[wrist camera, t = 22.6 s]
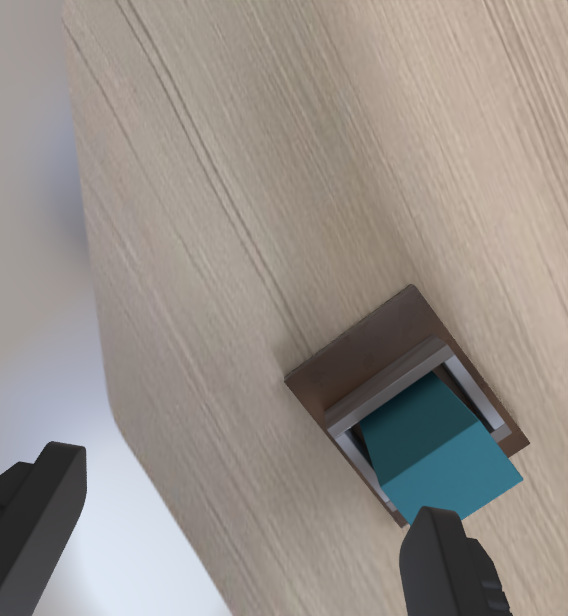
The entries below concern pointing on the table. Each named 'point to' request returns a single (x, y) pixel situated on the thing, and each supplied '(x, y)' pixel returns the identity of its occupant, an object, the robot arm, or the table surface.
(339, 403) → the board
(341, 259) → the table surface
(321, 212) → the table surface
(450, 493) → the teal rectangular block
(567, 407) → the table surface
